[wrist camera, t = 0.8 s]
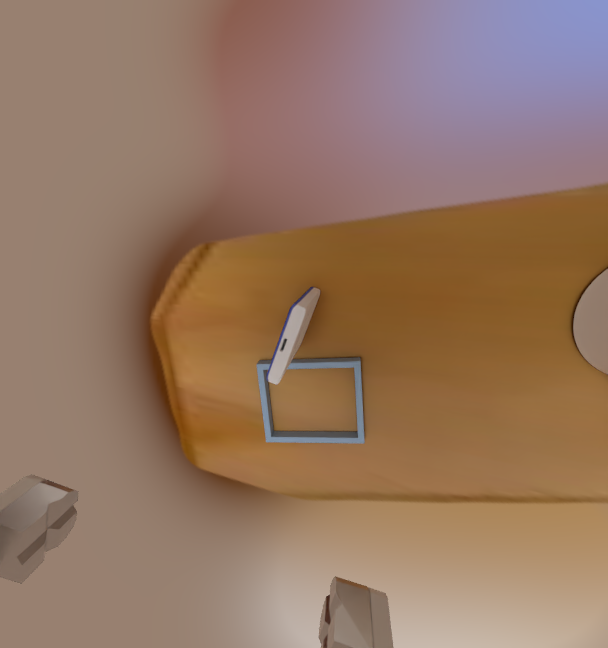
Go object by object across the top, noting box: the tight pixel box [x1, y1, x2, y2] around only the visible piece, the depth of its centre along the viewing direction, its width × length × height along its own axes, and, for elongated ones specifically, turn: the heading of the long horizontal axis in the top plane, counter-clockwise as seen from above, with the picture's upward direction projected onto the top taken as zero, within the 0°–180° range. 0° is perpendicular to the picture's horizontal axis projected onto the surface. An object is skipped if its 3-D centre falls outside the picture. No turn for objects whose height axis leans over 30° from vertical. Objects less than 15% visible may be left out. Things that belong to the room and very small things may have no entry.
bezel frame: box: [257, 357, 364, 443], centre depth 44 cm, size 14×12×2 cm
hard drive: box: [266, 287, 320, 385], centre depth 36 cm, size 2×8×12 cm, turn 160°
